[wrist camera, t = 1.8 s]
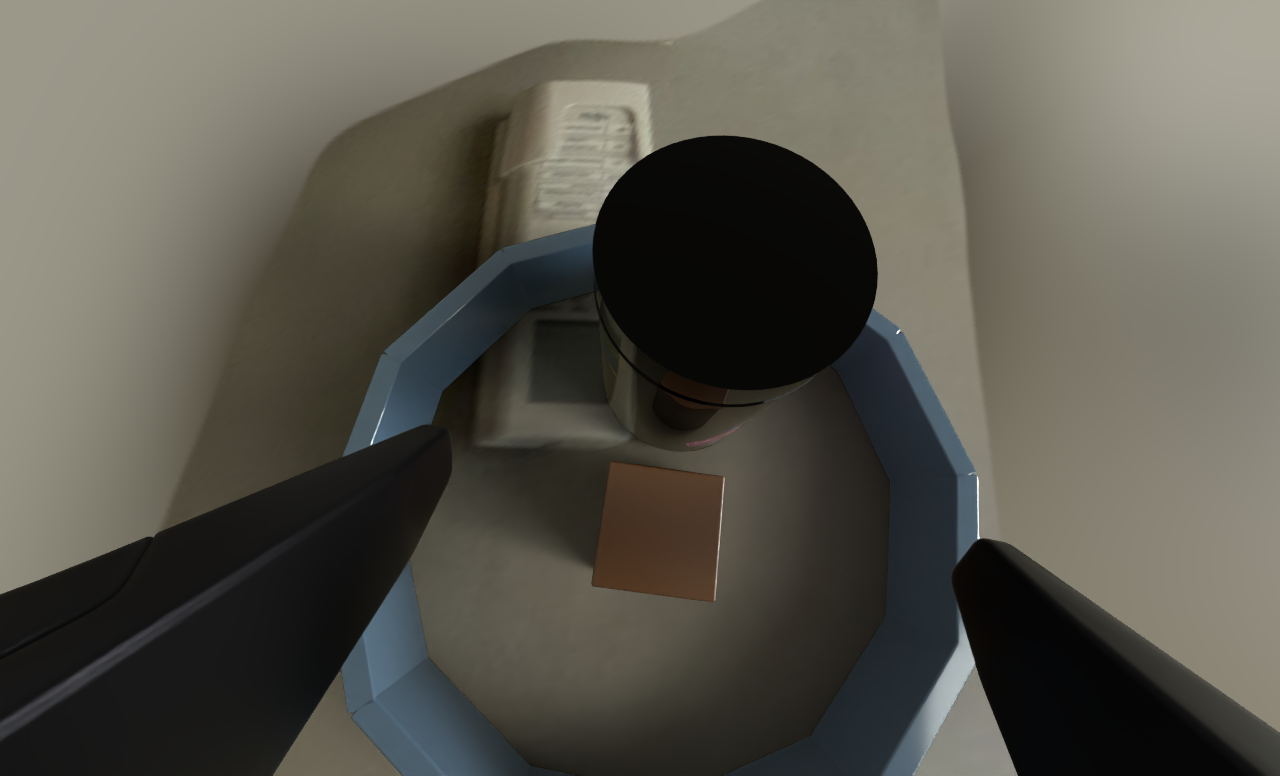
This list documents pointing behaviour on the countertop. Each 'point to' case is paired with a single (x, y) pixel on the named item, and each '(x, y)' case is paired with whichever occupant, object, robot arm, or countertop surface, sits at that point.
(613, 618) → the countertop surface
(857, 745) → the blue polygonal ring
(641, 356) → the supplement container
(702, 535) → the walnut block
